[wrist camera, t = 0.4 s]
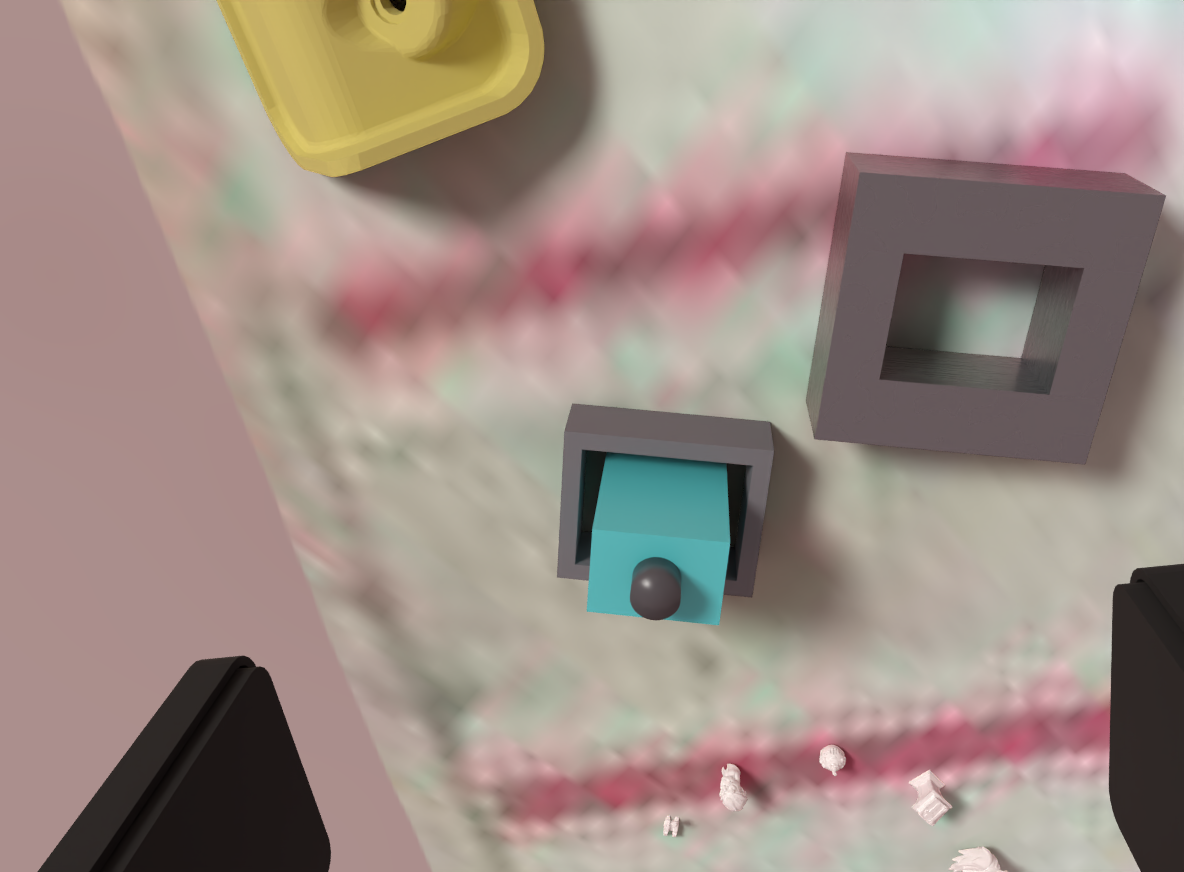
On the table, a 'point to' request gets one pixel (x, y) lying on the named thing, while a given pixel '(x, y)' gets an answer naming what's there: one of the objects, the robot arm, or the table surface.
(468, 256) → the table surface
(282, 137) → the plastic component
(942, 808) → the game piece set
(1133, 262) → the port
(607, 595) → the plug
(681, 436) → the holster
